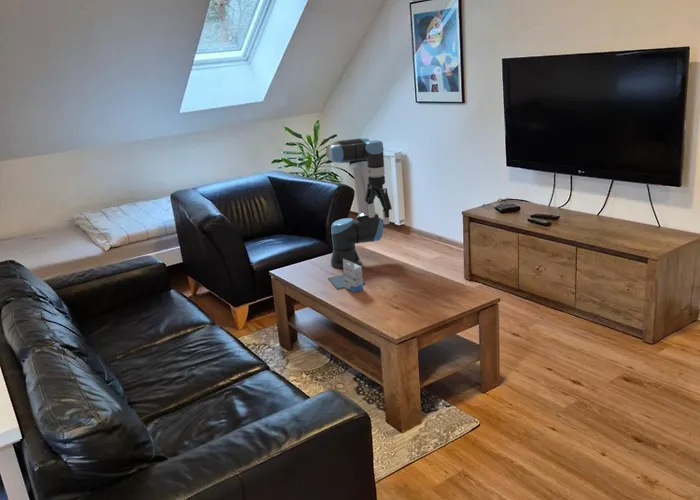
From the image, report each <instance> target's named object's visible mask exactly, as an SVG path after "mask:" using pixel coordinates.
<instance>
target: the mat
mask: <svg viewBox="0 0 700 500" xmlns="http://www.w3.org/2000/svg"><path fill="white" fill-rule="evenodd" d="M326 278H327V280H328V281H329V282H330V283H331V284H332V285H333V287H334V288H335V289H336V290H341V289H346V288H345V287H344V274H342V275H341V274H340V275H335V276H331V277H330V276H329V277H326ZM363 285H366V282H365V281H364V280H363Z"/></svg>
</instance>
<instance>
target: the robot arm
mask: <svg viewBox="0 0 700 500" xmlns="http://www.w3.org/2000/svg"><path fill="white" fill-rule="evenodd" d="M384 149H385V148H384V144H383V141H382V140H370V139H369V138H367V137H365V138H361V137H359V138H354V139H353V138H352V139H343V140H337V141H335V142H333V143H330V144H329V145H328V146H327V147H326V150H325V156H326V158H327V159H328V160H329V161H330V162H333V163H338V164H339V163H340V164H344V163H346V164H347V163H348V164H349V167H350V168H351V169H352V170H353V177H354V178H353V179H354V187H355V196H356V203H357V210H358V211H357V212H358V215H357V216H356V218H355V219H356V220H354V218H352V217H351V218H350V217H348V218H347V217H345V218H341V219H337V220H335V221H333V222H332V224H331V226H330V227H331V230H330V231H331V232H330V233H331V240H332V242H331V243H332V254H331V258H330V265H331V267H333V268H336V269H343V259H345V260H348V261H350V262H352V263H354V264H357V265H359V264H360V263H361V262H360V256H359V254H358V251H357V249H356V244H361V243H362V244H363V243H370V242H371V243H373V242H378V241H380V240H381V239H383V233H384V225H389V224H390V211H391V210H392V209H393V208H392V204H391V200H390V197H389V194H388V188H387V187H385V188H384V185H385V184H386V177H385V158H384ZM376 197H377V198H378V200H379V202H380V205H381V207H382V218H381V217H379V213H377V212H376V209H375V202H374V200H375V199H376Z"/></svg>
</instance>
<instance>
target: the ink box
mask: <svg viewBox="0 0 700 500" xmlns="http://www.w3.org/2000/svg"><path fill="white" fill-rule="evenodd" d="M342 269H343V275H344V287H345V288H344V289H347V290H350V291H351V292H354V293H358V292H360V291H363V290H364V284H363V281H364V280H363V266H362V265H359V264H358V265H357V264H354V263H352V262H350V261H348V260H345V259H343V268H342Z"/></svg>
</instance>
